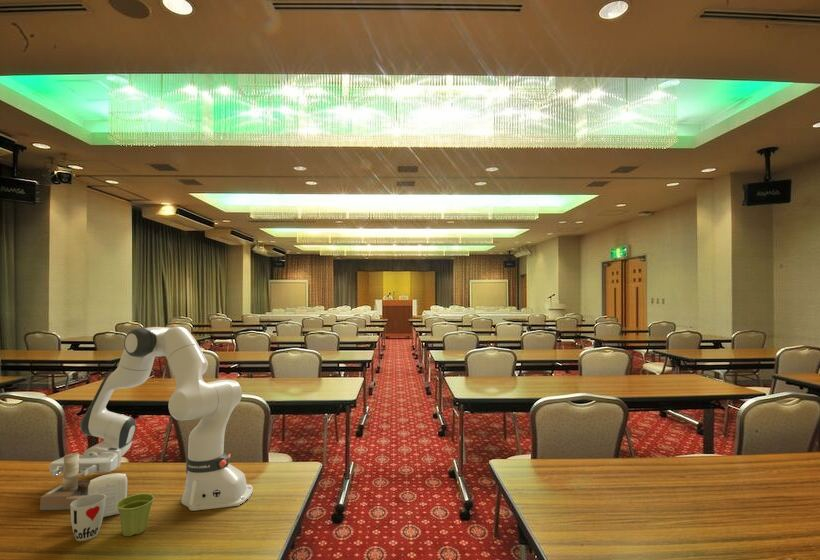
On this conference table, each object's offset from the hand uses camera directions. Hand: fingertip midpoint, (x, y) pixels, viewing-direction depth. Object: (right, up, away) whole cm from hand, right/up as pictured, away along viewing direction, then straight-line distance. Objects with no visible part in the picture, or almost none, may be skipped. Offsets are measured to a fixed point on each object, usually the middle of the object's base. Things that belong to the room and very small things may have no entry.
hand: (68, 473), depth 141 cm
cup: (+22, -9, -20) cm, 31 cm away
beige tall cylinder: (0, -8, +1) cm, 8 cm away
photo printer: (+19, -9, -8) cm, 22 cm away
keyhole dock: (+3, -9, +1) cm, 10 cm away
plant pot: (+33, -9, -17) cm, 39 cm away
